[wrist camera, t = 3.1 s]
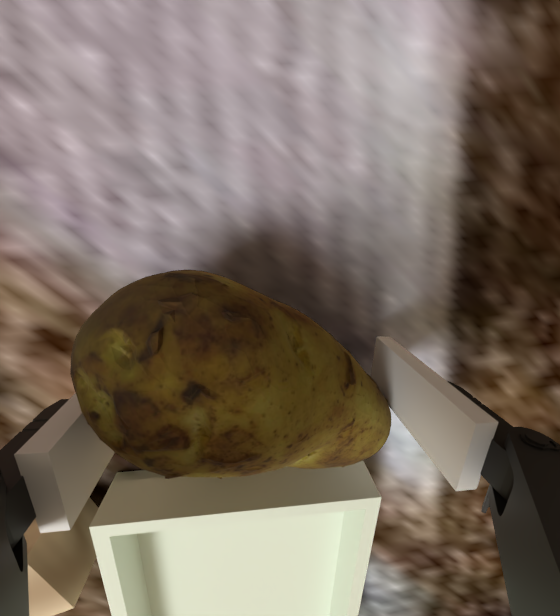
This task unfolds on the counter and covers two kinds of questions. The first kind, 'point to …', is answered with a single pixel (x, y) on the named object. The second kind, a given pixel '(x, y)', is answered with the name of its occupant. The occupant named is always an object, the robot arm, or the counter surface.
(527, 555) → the robot arm
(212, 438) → the potato
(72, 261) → the counter surface
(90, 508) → the beech block
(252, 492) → the tray
